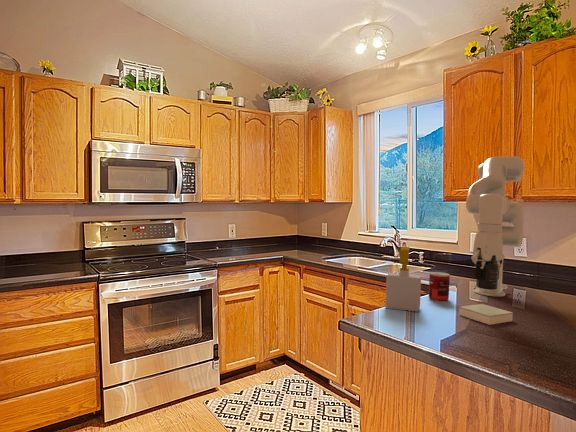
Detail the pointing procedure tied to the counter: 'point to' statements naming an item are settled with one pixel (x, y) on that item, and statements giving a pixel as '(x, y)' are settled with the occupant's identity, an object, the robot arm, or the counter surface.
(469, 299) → the counter surface
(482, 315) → the plate
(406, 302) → the soap bottle
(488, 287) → the supplement bottle
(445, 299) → the canned food
